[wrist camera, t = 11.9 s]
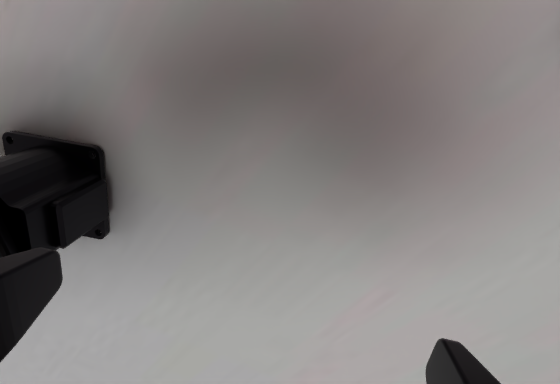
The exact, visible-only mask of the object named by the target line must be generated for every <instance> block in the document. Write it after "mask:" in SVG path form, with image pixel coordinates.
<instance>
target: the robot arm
mask: <svg viewBox="0 0 560 384" xmlns="http://www.w3.org/2000/svg"><path fill="white" fill-rule="evenodd" d="M2 139H3V145H4V150H5V155H6V156H3V157H0V362H1V361H2V360H3V359H4V358H5V357H6V355H7V354H8V353H9V352H10V351H11V350H12V349H13V347H14V346H15V345H16V344H17V343H18V342H19V340H20V339H21V338H22V337H23V335H24V334H25V333H26V331H27V330H28V329H29V328H30V326H31V325H32V324H33V322H34V321H35V320H36V318H37V317H38V316H39V314H40V313H41V312H42V310H43V309H44V308H45V307H46V305H47V304H48V303H49V301H50V300H51V299H52V297H53V296H54V295H55V293H56V292H57V291H58V290H59V288H60V286H61V284H62V279H63V277H62V268H61V260H60V254H59V253H58V252H57V251H56V250H57V249H59V248H63V249H64V248H66V247H67V246H69V245H70V244H71V243H73V242H74V241H75V240H77V239H78V238H80V237H81V236H86V237H91V238H96V239H103V238H104V237H106V236H107V235H108V233H109V228H108V200H107V186H106V182H105V170H104V156H103V151H102V150H101V149H100V148H99V147H98V146H95V145H89V144H84V143H78V142H72V141H67V140H61V139H55V138H50V137H44V136H39V135H33V134H27V133H22V132H16V131H10V132H6V133H4V134H3V136H2ZM12 139H13V140H12ZM92 151H93V152H94V153H95V155H96V157H95V156H93V154H92ZM99 230H100V231H101V232H102V233H101V232H100V231H99ZM426 383H427V384H501V383H500V382H499V381H498V380H497V379H496V378H495V377H494V376H493V375H492V374H491V373H490V372H489V371H488V370H487V369H486V368H485V367H484V366H483V365H482V364H481V363H480V362H479V361H478V360H477V359H476V358H475V357H474V356H473V355H472V354H471V353H470V352H469V351H468V350H467V349H466V348H465V347H464V346H463V345H462V344H461V343H459V342H457V341H453V340H448V339H444V338H442V339H439V340H438V341H437V343H436V345H435V347H434V349H433V351H432V354H431V356H430V358H429V360H428V363H427V366H426Z"/></svg>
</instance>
